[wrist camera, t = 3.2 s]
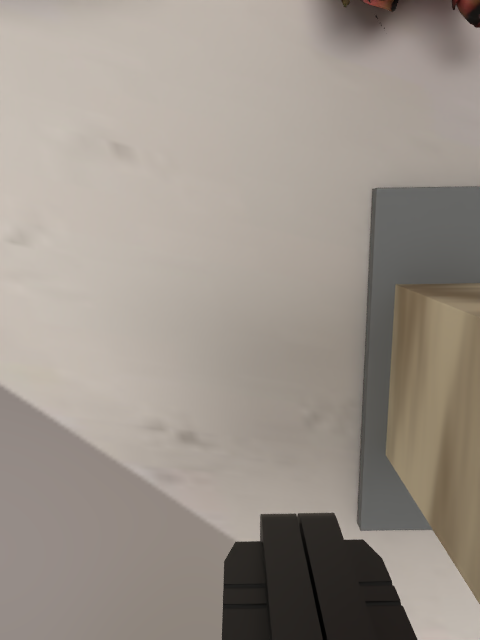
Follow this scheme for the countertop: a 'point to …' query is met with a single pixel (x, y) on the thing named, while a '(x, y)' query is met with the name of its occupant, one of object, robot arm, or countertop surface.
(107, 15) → the countertop surface
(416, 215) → the rubber mat
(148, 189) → the countertop surface
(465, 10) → the dragon fruit
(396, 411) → the maple block
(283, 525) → the robot arm
